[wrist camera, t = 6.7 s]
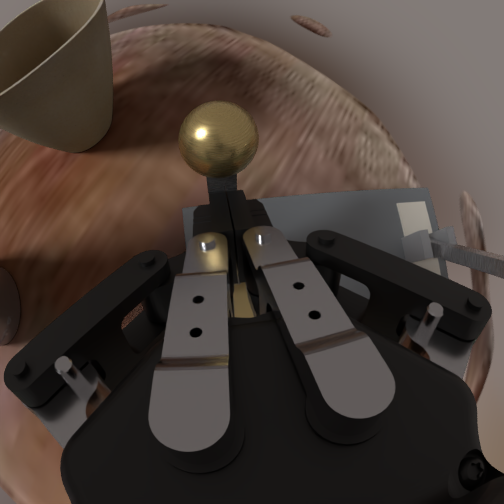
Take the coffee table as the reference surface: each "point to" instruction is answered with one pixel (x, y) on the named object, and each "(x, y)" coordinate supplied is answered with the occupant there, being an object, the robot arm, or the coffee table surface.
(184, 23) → the coffee table surface
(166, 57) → the coffee table surface
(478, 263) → the silver lever
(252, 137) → the brass lever
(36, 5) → the plant pot
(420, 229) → the switch panel
